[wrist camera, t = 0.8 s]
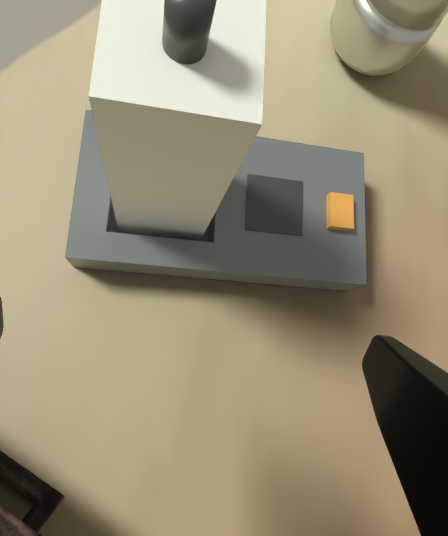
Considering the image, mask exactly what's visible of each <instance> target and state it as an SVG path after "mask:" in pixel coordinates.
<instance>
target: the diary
mask: <svg viewBox="0 0 448 536" xmlns="http://www.w3.org/2000/svg"><path fill="white" fill-rule="evenodd" d="M63 497H64V495H62V494H61V493H59V492H58V491H57V490H55V489H54V488H52V487H51V486H50V485H48V484H47V483H45V482H44V481H42V480H41V479H40V478H38V477H37V476H35V475H34V474H33V473H31V472H30V471H28V470H27V469H25V468H24V467H23V466H21V465H20V464H18V463H17V462H16V461H14V460H13V459H11V458H10V457H8V456H7V455H6V454H4V453H3V452H1V451H0V536H41V535H40V534H39V533H38V531H39V529H40V528H41V527H42V525H43V524H44V523H45V521H46V520H47V519H48V517H49V516H50V515H51V514H52V512H53V511H54V509H55V508H56V507H57V505H58V504H59V503H60V501H61V500H62V499H63Z"/></svg>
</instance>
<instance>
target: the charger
mask: <svg viewBox="0 0 448 536" xmlns="http://www.w3.org/2000/svg"><path fill="white" fill-rule="evenodd" d="M265 26H266V0H102V4H101V12H100V19H99V26H98V33H97V40H96V48H95V55H94V62H93V69H92V76H91V84H90V91H89V100H90V104H91V109H92V113H93V118H94V122H95V127H96V131H97V136H98V141H99V145H100V150H101V154H102V159H103V163H104V168H105V173H106V177H107V182H108V186H109V191H110V195H111V200H112V204H113V209H114V214H115V218H116V223H117V227H118V231H119V232H128V233H138V234H147V235H157V236H166V237H176V238H185V239H195V240H201V238H202V237H203V235H204V233H205V231H206V229H207V227H208V225H209V223H210V221H211V220H212V218H213V216H214V214H215V212H216V210H217V208H218V206H219V204H220V203H221V201H222V199H223V197H224V195H225V193H226V191H227V189H228V187H229V186H230V184H231V182H232V180H233V178H234V176H235V174H236V172H237V170H238V169H239V167H240V165H241V163H242V161H243V159H244V157H245V155H246V154H247V152H248V150H249V148H250V146H251V144H252V142H253V140H254V138H255V137H256V135H257V133H258V131H259V129H260V127H261V125H262V110H263V82H264V54H265Z"/></svg>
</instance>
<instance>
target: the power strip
mask: <svg viewBox="0 0 448 536" xmlns="http://www.w3.org/2000/svg"><path fill="white" fill-rule="evenodd" d="M65 258H66V259H67V260H68V261H69V262H70V263H71V265H72V266H73V267H77V268H88V269H100V270H111V271H123V272H134V273H146V274H157V275H169V276H180V277H192V278H203V279H215V280H226V281H238V282H249V283H261V284H272V285H284V286H295V287H307V288H318V289H330V290H341V291H346V290H349V289H353V288H357V287H360V286H364V285H367V276H366V232H365V187H364V153H359V152H353V151H346V150H340V149H334V148H327V147H321V146H314V145H308V144H302V143H295V142H289V141H282V140H276V139H270V138H263V137H257V136H256V137H255V138H254V140H253V142H252V144H251V146H250V148H249V150H248V152H247V154H246V155H245V157H244V159H243V161H242V163H241V165H240V167H239V169H238V170H237V172H236V174H235V176H234V178H233V180H232V182H231V184H230V186H229V187H228V189H227V191H226V193H225V195H224V197H223V199H222V201H221V203H220V204H219V206H218V208H217V210H216V212H215V214H214V216H213V218H212V220H211V221H210V223H209V225H208V227H207V229H206V231H205V233H204V235H203V237H202V238H201V240H195V239H185V238H176V237H166V236H157V235H147V234H138V233H128V232H119V231H118V227H117V223H116V218H115V214H114V209H113V204H112V200H111V195H110V191H109V186H108V182H107V177H106V173H105V168H104V163H103V159H102V154H101V150H100V145H99V141H98V136H97V131H96V127H95V122H94V118H93V113H92V111H91V110H86V111H85V118H84V126H83V133H82V140H81V147H80V154H79V161H78V169H77V176H76V183H75V190H74V197H73V204H72V212H71V219H70V226H69V233H68V240H67V248H66V255H65Z"/></svg>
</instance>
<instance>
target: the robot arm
mask: <svg viewBox="0 0 448 536" xmlns="http://www.w3.org/2000/svg"><path fill="white" fill-rule="evenodd" d="M2 332H3V312H2V301H1V298H0V338H1V336H2ZM362 368H363V372H364V376H365V379H366V383H367V387H368V390H369V394H370V398H371V401H372V405H373V409H374V412H375V416H376V419H377V422H378V425H379V428H380V431H381V433H382V436H383V438H384V441H385V444H386V446H387V449H388V451H389V454H390V457H391V459H392V462H393V464H394V467H395V470H396V472H397V475H398V477H399V480H400V482H401V485H402V488H403V490H404V493H405V495H406V498H407V501H408V503H409V506H410V508H411V511H412V514H413V516H414V519H415V521H416V524H417V527H418V529H419V532H420V534H421V536H448V373H447V372H445V371H444V370H442V369H441V368H439V367H438V366H436V365H435V364H433V363H432V362H430V361H428V360H427V359H425V358H424V357H422V356H421V355H419V354H418V353H416V352H415V351H413V350H412V349H410V348H408V347H407V346H405V345H404V344H402V343H401V342H399V341H398V340H396V339H395V338H393V337H390V336H383V335H376V336H374V337H373V339H372V341H371V343H370V345H369V347H368V349H367V351H366V353H365V355H364V358H363V361H362Z"/></svg>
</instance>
